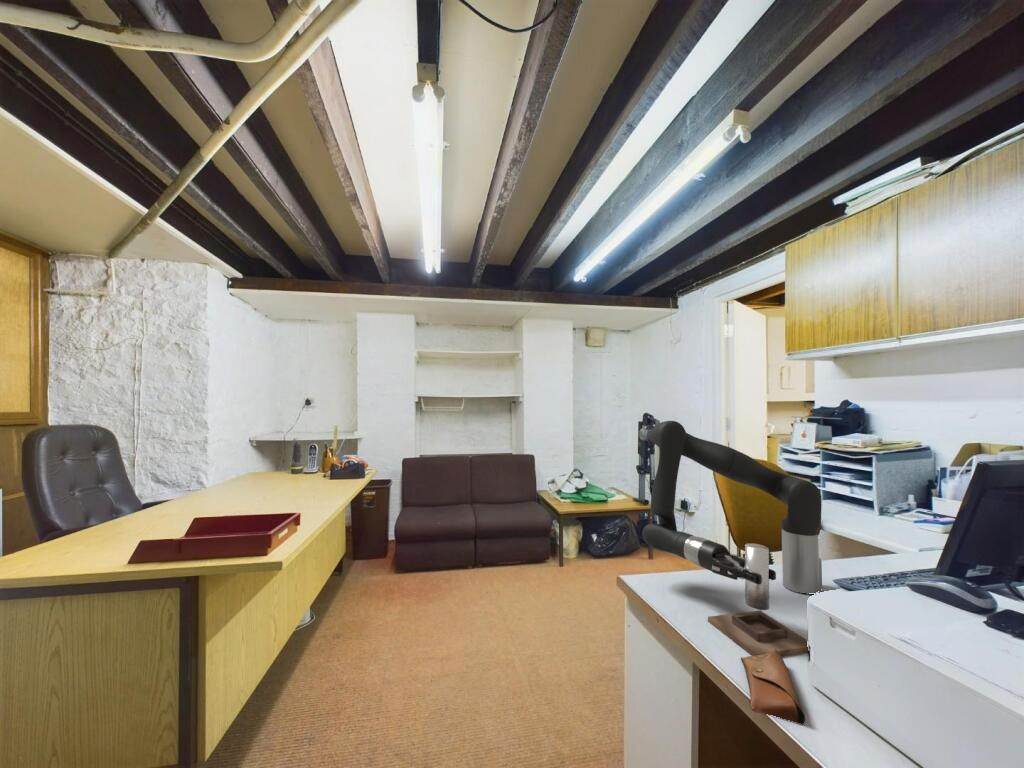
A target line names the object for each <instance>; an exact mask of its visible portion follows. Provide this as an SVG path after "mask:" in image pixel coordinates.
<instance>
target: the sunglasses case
mask: <svg viewBox="0 0 1024 768" xmlns="http://www.w3.org/2000/svg"><path fill="white" fill-rule="evenodd" d="M740 660H741V664H742V665H743V668H744V671H745V675H746V679H747V685H748V689H749V694H750V696H749V697H750V698H749V699H750V709H751V711H753V712H755V713H759V714H763V715H767V714H768V715H767V716H770V715H773V716H776V717H775V718H777V717H780V718H779V719H781V718H782V719H781V720H784V719H786V720H785V721H788V720H790V721H789V722H792V721H793V722H792V723H795V722H796V724H800V723H801V724H802V725H801V724H800V725H801V726H803V725H805V723H806V715H805V713H804V710H803V707H802V704H801V701H800V699H799V695H798V693H797V690H796V688H795V685H794V683H793V680H792V677H791V674H790V672H789V670H788V667H787V665H786V663H785V661H784V659H783V656H781V654H780V653H779V652H778V651H777V650H774V651H773V652H771V653H765V654H760V655H754V656H752V655H750V656H746V657H742V656H741V657H740ZM773 716H772V717H773Z"/></svg>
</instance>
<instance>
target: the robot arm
mask: <svg viewBox="0 0 1024 768" xmlns="http://www.w3.org/2000/svg"><path fill="white" fill-rule="evenodd" d="M650 437H651V440H652V442H653V443H654V444H655V446H656V447H658V448H659V449H658V450H659V451H658V452H659V456H658V465H657V470H656V474H655V477H654V479H653V483H652V488H651V489H652V490H651V497H650V499H651V500H650V512H651V513H652V515H654V516H656V517H657V519H658V523H656V522H655V523H649V524H647V525H645V526H644V527H643V529H642V539H643V541H644V542H645V543H646V544H647V545H648V546H649V547H650V548H653V549H655V550H658V551H661V552H666V553H670V554H674V555H676V556H677V557H680V558H682V559H684V560H687V561H688V562H691V563H692V564H695V565H697V566H699V567H700V568H703V569H705V570H708V571H710V572H712V573H713V574H716V575H718V576H719V575H720V576H722V577H726V578H728V579H731V580H735V581H737V580H738V579H739V580H745V579H746V580H749V581H751V582H753V583H756V584H758V585H759V584H762V576H761V575H760V574H757V573H755V572H752V571H749V570H747V569H746V570H745V553H743V554H742V556H740V555H738V554H734V553H730V551H729V550H728V548H727V547H726V546H725V545H723V544H720V543H719V542H715V541H713V540H710V539H706V538H703V537H700V536H696V535H694V534H690V533H687V532H685V531H680V530H679V531H678V529H677V528H678V527H677V521H676V517H675V506H676V505H675V503H676V494H677V493H676V490H677V481H678V476H679V475H678V474H679V470H680V469H679V468H680V463H681V459H682V457H685V458H688V459H690V460H692V461H693V462H695V463H697V464H699V465H701V466H703V467H704V468H706V469H708V470H710V471H712V472H714V473H716V474H718V475H721V477H722V476H723V477H725V478H726V479H730V480H732V481H734V482H737V483H739V484H742V485H745V486H748V487H749V486H750V487H752V488H757V489H758V490H761V491H763V492H765V493H766V494H769V495H770V496H772V497H773V498H776V499H777V500H779V501H780V502H782V503H784V505H787V516H786V517H784V518H782V519H781V523H780V524H781V553H782V554H781V555H782V557H781V560H782V567H781V568H782V586H783V587H784V588H786V589H788V590H789V591H792V592H795V593H798V592H800V593H799V594H802V593H808V594H807V595H809V593H816V592H818V591H820V590H821V589H822V590H823V570H822V569H823V567H822V563H823V561H822V558H820V557H819V556H820V554H819V551H820V550H819V528H820V526H821V523H822V505H823V504H822V503H823V502H822V494H821V491H820V489H819V487H818V486H817V485H816V484H815V483H813V482H811V481H808V480H805V479H803V478H800V477H798V476H797V477H796V476H792V475H789V474H786V473H782V472H779V471H776V470H775V469H772V468H769V467H767V466H765V465H763V464H762V463H760V462H759V461H757V460H756V459H754V458H753V457H751V456H749V455H747V454H745V453H744V452H741V451H739V450H736V449H735V448H732V447H729V446H727V445H723V444H721V443H717V442H713V441H710V440H706V439H702V438H699V437H696V436H694V435H692V434H690V433H688V432H686V429H685V427H684V426H683V425H682V423H679V421H676V420H665V421H662V422H661V421H660V422H659V423H657V424H655V425H654V426H653V428H652V429H651V433H650ZM776 579H777V572H776V570H774V569H771V568H769V580H770V581H775V580H776ZM820 592H821V591H820Z"/></svg>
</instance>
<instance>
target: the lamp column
mask: <svg viewBox="0 0 1024 768" xmlns="http://www.w3.org/2000/svg"><path fill="white" fill-rule="evenodd" d="M744 554H745V570H746V569H747V570H749V571H752V572H755V573H757V574H760V575H761V576H762V584H759V585H758V584H756V583H753V582H751V581H749V580H746V579H744V583H745V584H744V586H745V587H744V588H745V589H744V593H745V594H744V595H745V597H744V598H745V600H744V601H745V602H744V603H745V604H746V605H747V606H748V607H750V608H751V609H754V610H757V611H768V610H769V609H770V579H769V569H770V548H769V547H768V546H766V545H763V544H759V543H745V544H744Z"/></svg>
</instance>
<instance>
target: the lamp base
mask: <svg viewBox="0 0 1024 768" xmlns="http://www.w3.org/2000/svg"><path fill="white" fill-rule="evenodd" d="M707 623H709V624H711V625H712V626H713V627H714V628H716V629H717V630H718V631H720V632H721V633H722V634H723V635H725V636H726V637H727V638H728V639H730V640H731V641H733V642H734V643H735V644H736V645H737V646H739V647H740V648H741V649H742V650H744V651H745V652H746V653H748V654H749V655H750V656H754V655H760V654H765V653H771V652H773V651H774V650H777V651H778V652H779V653H780V654H781V656H782V657H785V656H786V657H787V656H792V655H799V653H800V654H807V653H808V652H807V651H808V647H807V640H808V639H807V638H805V637H804V636H802V635H800V634H799V633H798V632H795V630H792V629H791V628H789V627H787V626H786V625H784V624H783V623H782V622H779V621H778V620H777V619H775V618H773V617H771V616H770V615H768V614H767V613H766V612H763V610H752V611H745V612H736V613H729V614H728V613H727V614H720V615H719V614H718V615H712V616H707Z"/></svg>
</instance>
